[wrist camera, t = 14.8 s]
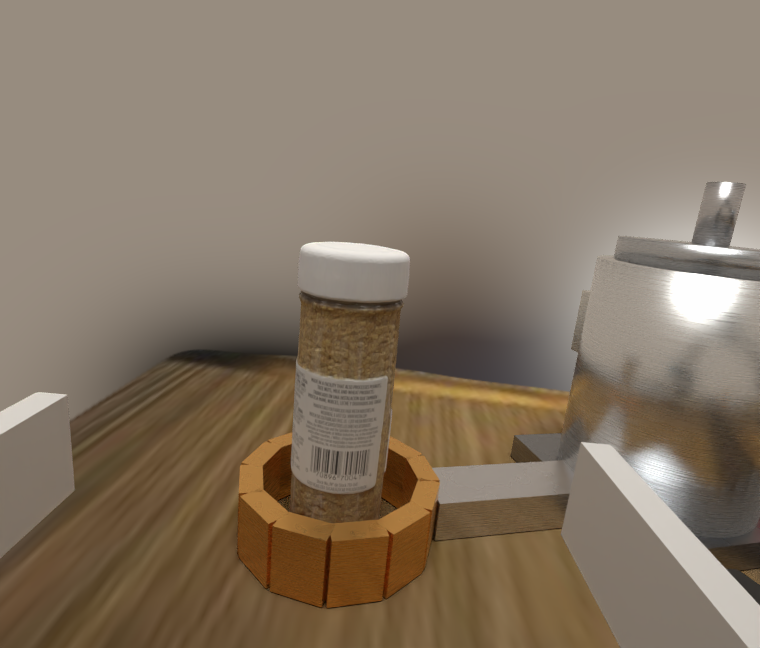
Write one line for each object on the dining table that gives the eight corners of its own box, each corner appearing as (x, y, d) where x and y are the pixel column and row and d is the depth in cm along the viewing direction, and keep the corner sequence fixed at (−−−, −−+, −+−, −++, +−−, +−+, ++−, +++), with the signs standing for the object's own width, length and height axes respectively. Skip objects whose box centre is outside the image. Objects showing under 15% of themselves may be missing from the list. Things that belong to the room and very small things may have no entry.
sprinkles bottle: (389, 511, 24) (420, 248, 21) (364, 575, 20) (399, 257, 17) (306, 491, 25) (323, 237, 22) (265, 547, 21) (280, 242, 18)
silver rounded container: (633, 439, 35) (694, 194, 31) (817, 559, 24) (954, 195, 19) (241, 458, 28) (249, 139, 24) (233, 644, 16) (244, 90, 12)
